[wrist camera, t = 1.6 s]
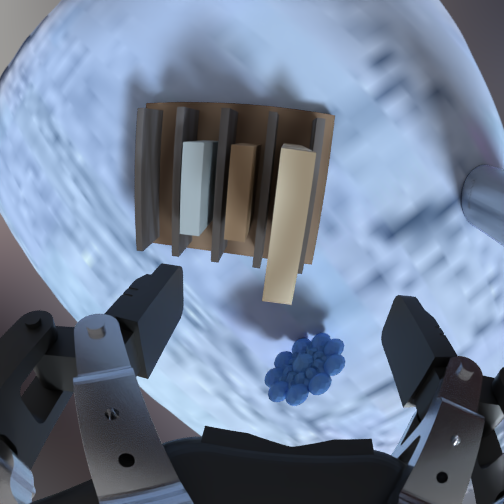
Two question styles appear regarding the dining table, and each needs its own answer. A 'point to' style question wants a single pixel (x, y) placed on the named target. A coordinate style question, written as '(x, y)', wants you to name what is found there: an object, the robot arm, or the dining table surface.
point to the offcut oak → (241, 190)
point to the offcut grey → (197, 186)
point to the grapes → (305, 369)
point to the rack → (223, 171)
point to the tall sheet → (288, 222)
